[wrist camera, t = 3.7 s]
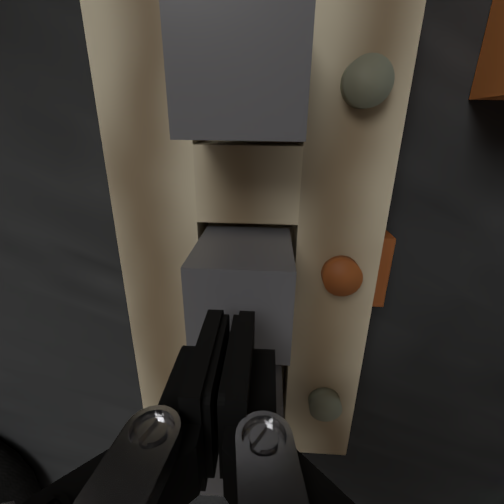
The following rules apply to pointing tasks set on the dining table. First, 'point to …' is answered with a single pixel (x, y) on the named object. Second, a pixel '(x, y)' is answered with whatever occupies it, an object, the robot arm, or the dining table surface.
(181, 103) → the block
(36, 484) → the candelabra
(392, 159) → the breaker board
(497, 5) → the cap
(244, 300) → the block
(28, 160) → the dining table surface
